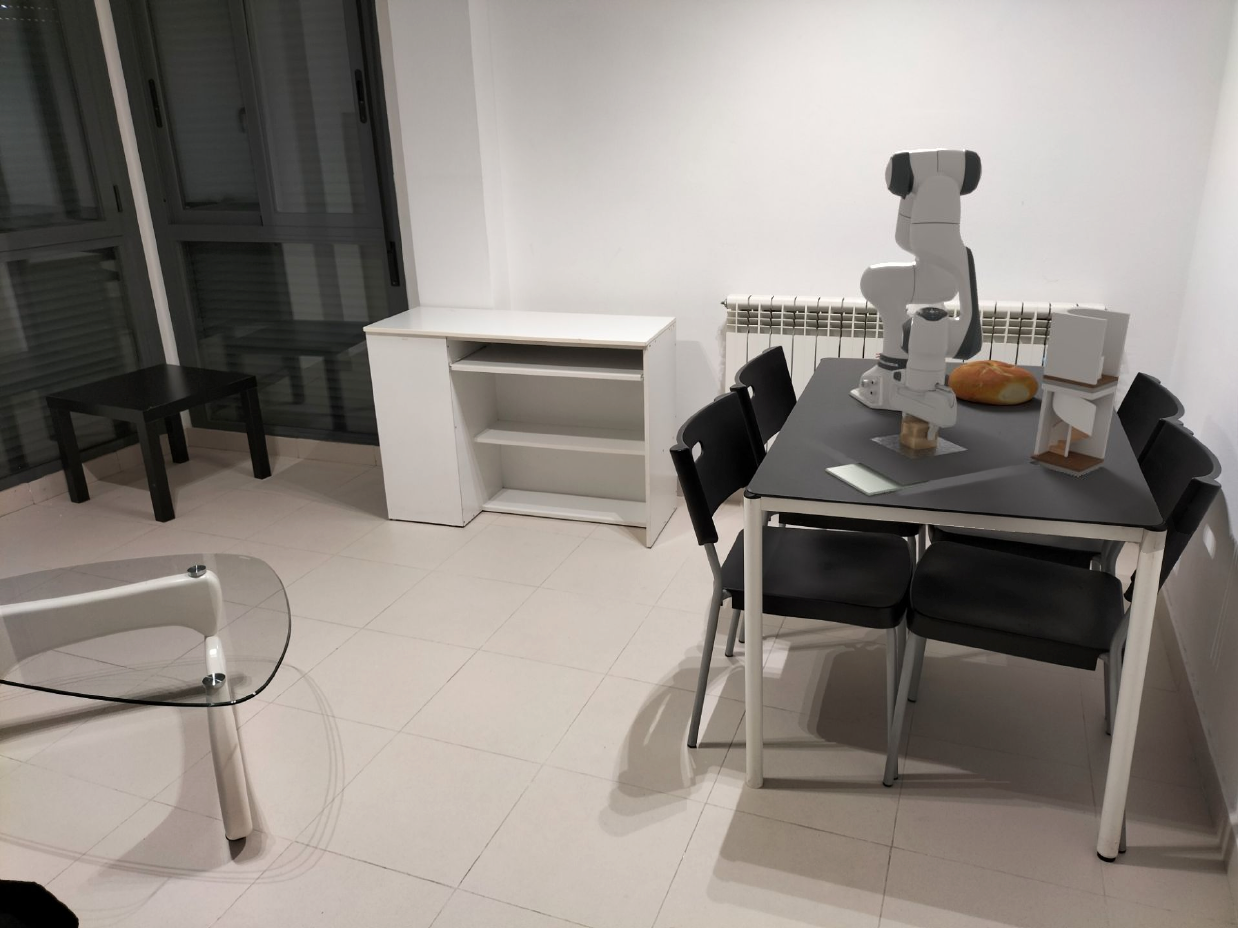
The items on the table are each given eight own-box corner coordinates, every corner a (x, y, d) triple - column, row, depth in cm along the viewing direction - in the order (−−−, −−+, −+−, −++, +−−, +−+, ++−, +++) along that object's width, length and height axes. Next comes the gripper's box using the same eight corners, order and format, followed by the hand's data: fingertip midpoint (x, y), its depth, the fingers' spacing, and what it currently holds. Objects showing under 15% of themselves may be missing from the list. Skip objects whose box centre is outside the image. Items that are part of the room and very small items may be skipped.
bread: (1018, 414, 247) (1023, 378, 243) (934, 399, 261) (937, 365, 258) (1046, 395, 263) (1051, 361, 260) (965, 382, 277) (969, 350, 274)
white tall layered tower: (1030, 463, 212) (1052, 312, 199) (1054, 453, 218) (1077, 306, 205) (1078, 477, 203) (1105, 320, 191) (1102, 466, 209) (1130, 313, 197)
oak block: (899, 442, 222) (902, 418, 220) (920, 438, 224) (922, 415, 222) (916, 449, 217) (918, 425, 215) (936, 446, 219) (939, 422, 217)
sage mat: (825, 471, 209) (825, 468, 209) (883, 461, 214) (884, 458, 214) (868, 495, 195) (868, 492, 195) (929, 484, 200) (930, 481, 200)
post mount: (869, 444, 225) (871, 421, 223) (922, 436, 231) (925, 413, 229) (911, 465, 211) (914, 440, 209) (967, 455, 217) (970, 431, 215)
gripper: (966, 388, 207) (959, 446, 212) (908, 367, 225) (902, 421, 230) (944, 391, 205) (937, 449, 210) (886, 370, 223) (882, 424, 228)
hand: (919, 434), depth 220 cm, fingers closed on oak block, 6 cm apart
